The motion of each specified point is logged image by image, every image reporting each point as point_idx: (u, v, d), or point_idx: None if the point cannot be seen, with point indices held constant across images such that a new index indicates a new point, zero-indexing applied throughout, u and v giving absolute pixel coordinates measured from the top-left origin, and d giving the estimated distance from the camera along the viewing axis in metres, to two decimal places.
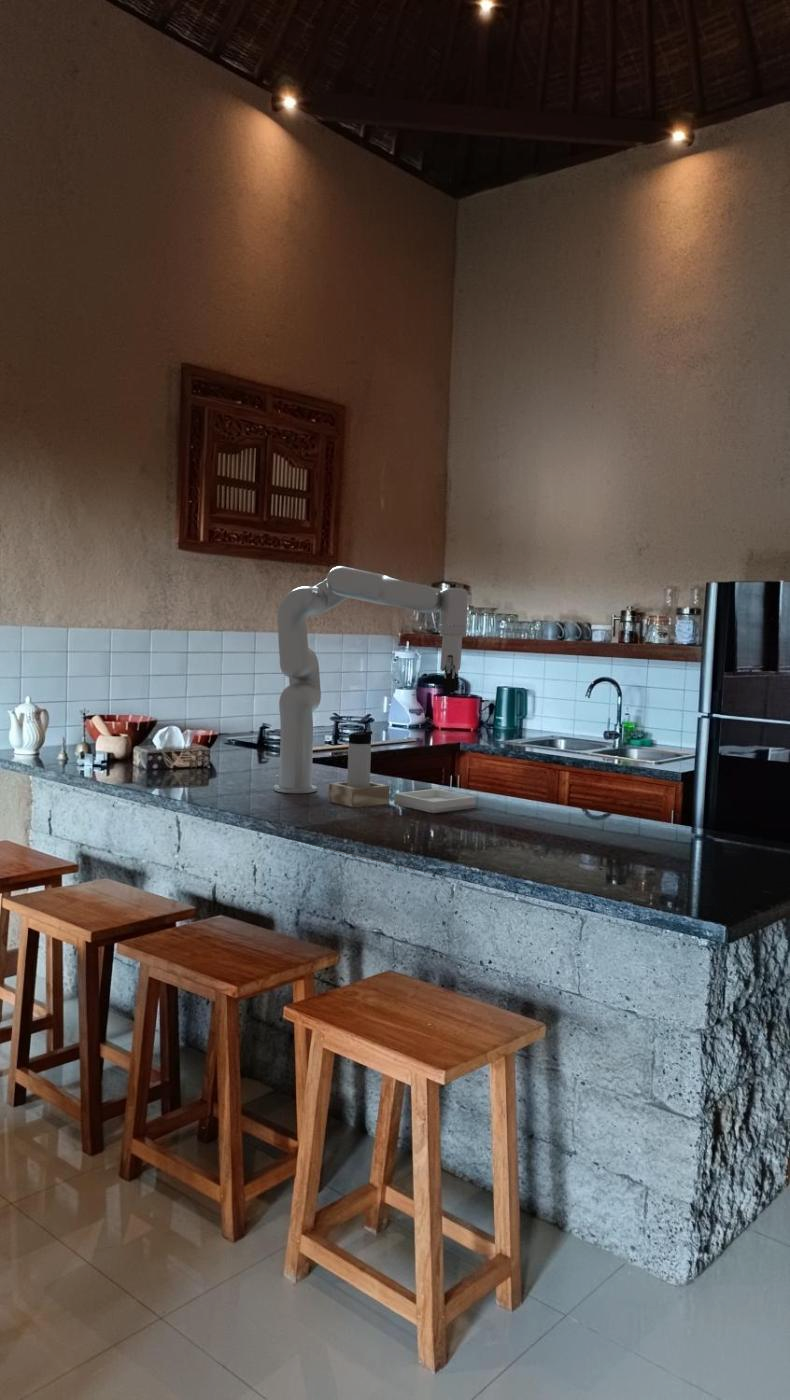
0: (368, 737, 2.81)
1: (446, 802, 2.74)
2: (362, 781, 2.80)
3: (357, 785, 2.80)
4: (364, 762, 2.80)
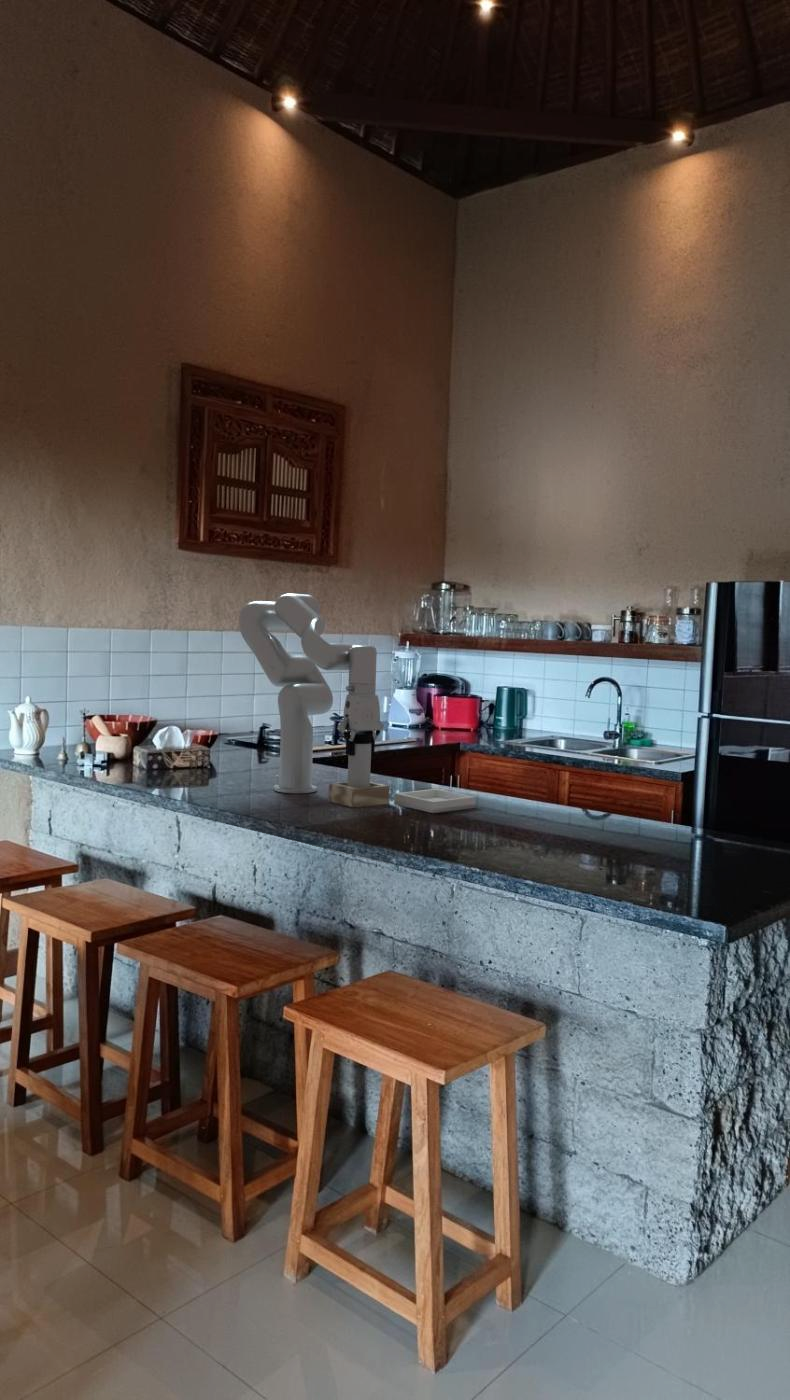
0: (368, 737, 2.81)
1: (446, 802, 2.74)
2: (362, 781, 2.80)
3: (357, 785, 2.80)
4: (364, 762, 2.80)
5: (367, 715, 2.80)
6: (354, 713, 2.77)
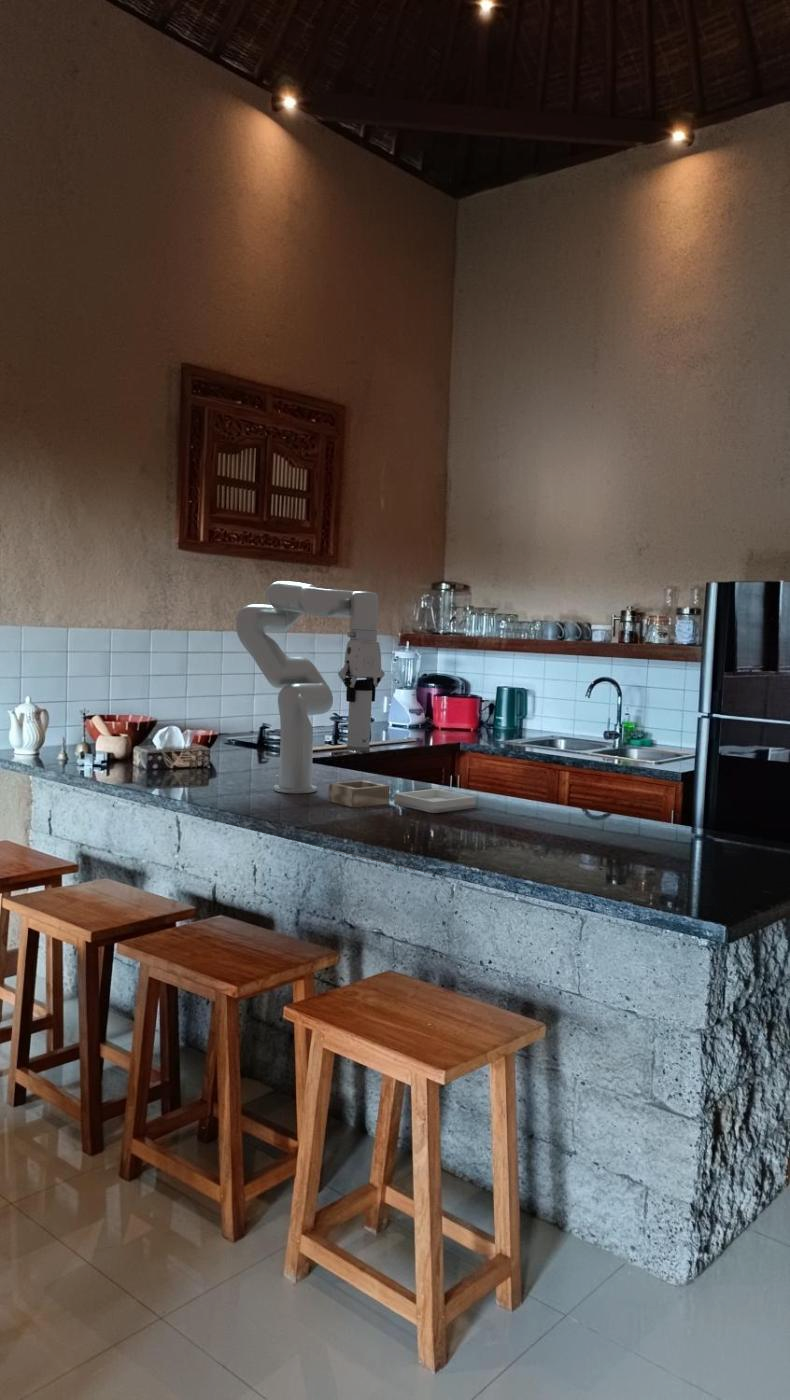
0: (369, 684, 2.80)
1: (446, 802, 2.74)
2: (362, 728, 2.80)
3: (357, 731, 2.80)
4: (365, 709, 2.80)
5: (368, 662, 2.79)
6: (355, 659, 2.76)
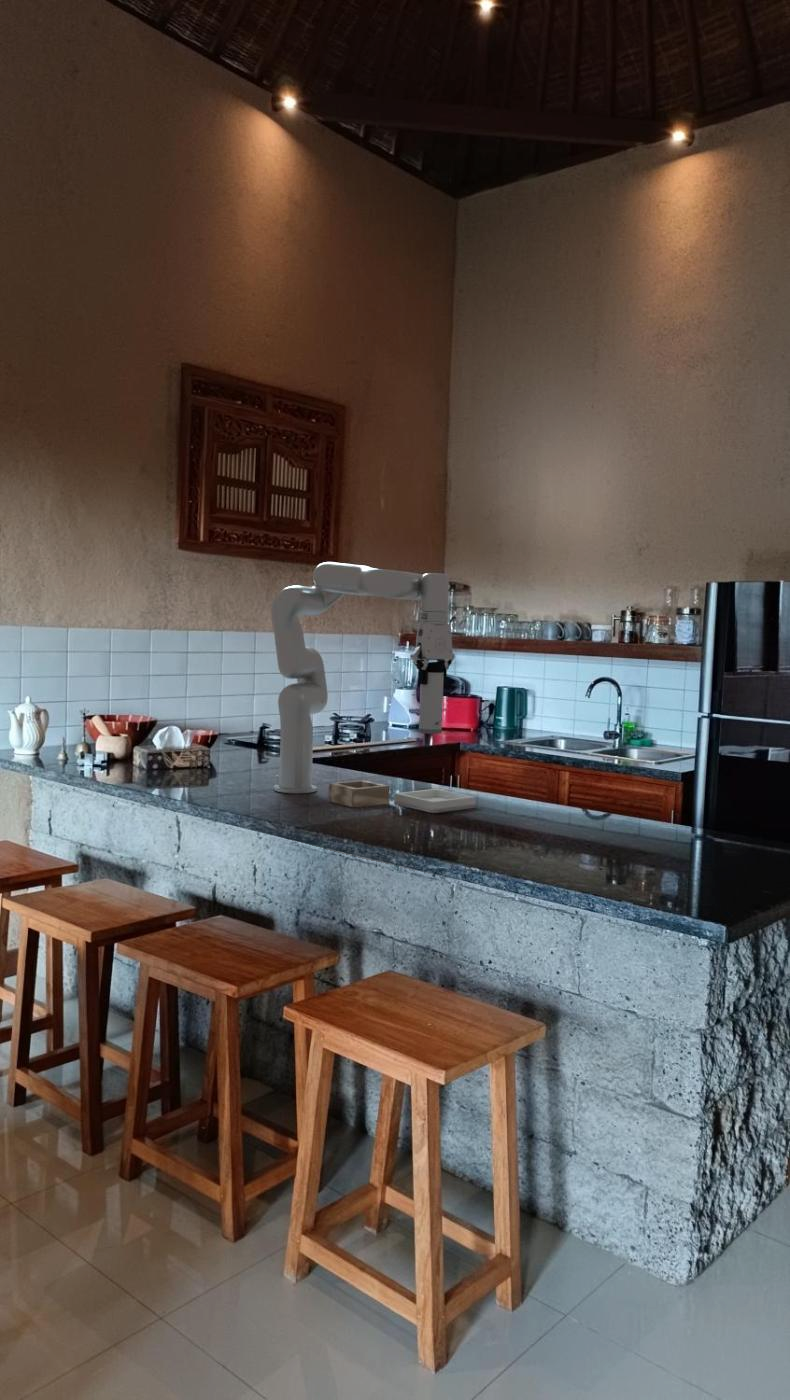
0: (441, 666, 2.78)
1: (446, 802, 2.74)
2: (435, 711, 2.77)
3: (430, 714, 2.77)
4: (437, 691, 2.77)
5: (439, 644, 2.77)
6: (427, 641, 2.74)
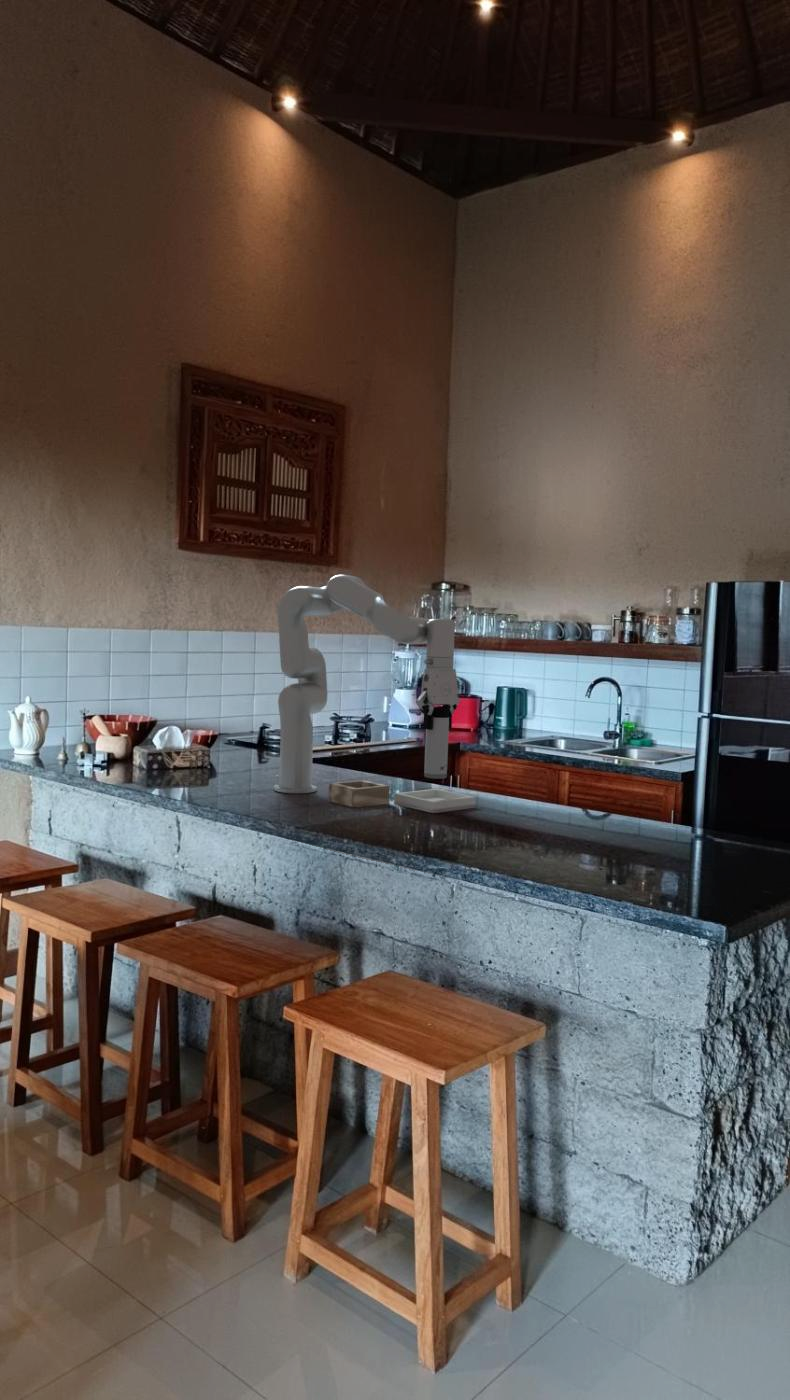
0: (447, 711, 2.78)
1: (446, 802, 2.74)
2: (440, 755, 2.78)
3: (436, 759, 2.78)
4: (443, 736, 2.78)
5: (445, 689, 2.78)
6: (433, 686, 2.75)
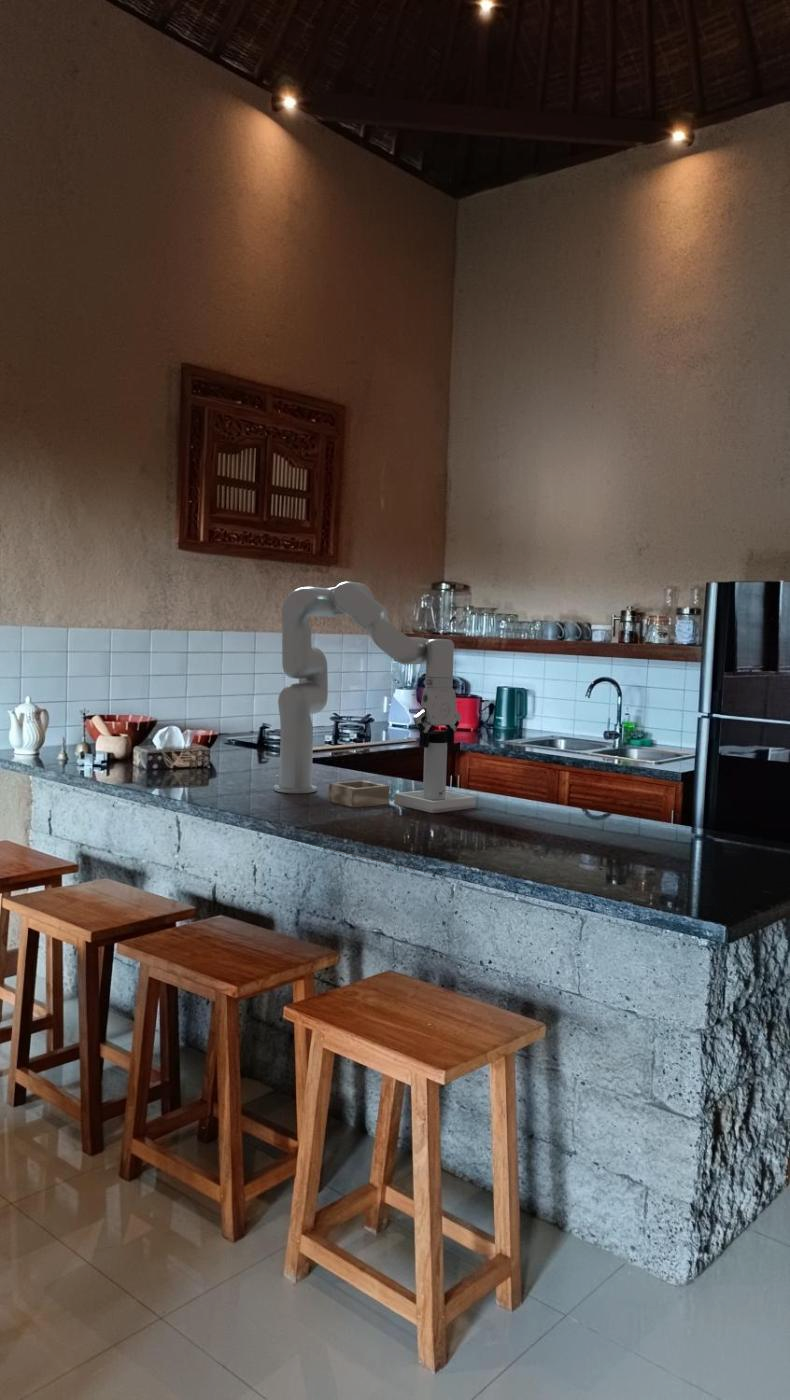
0: (445, 736, 2.79)
1: (446, 802, 2.74)
2: (438, 781, 2.79)
3: (434, 784, 2.79)
4: (441, 761, 2.79)
5: (444, 709, 2.78)
6: (432, 707, 2.75)
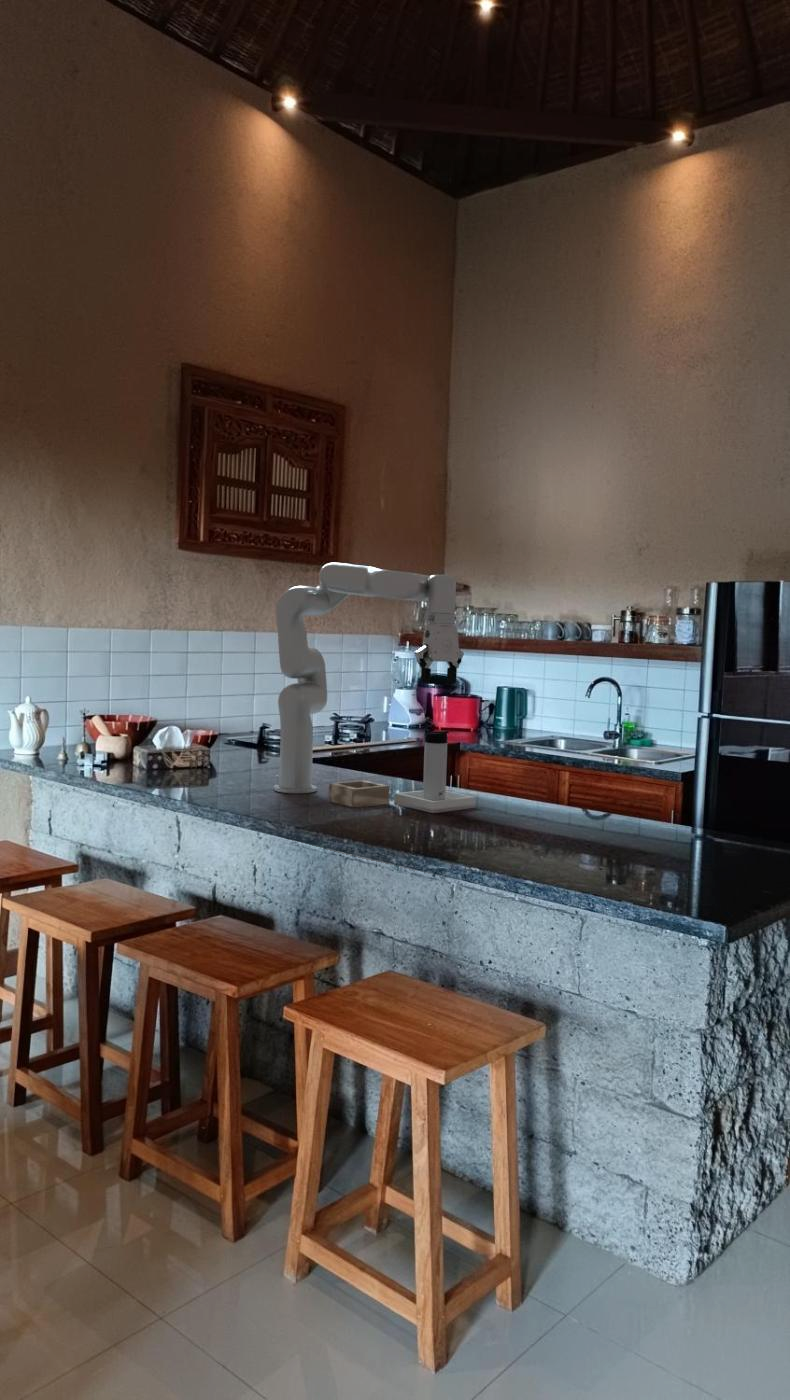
0: (445, 736, 2.79)
1: (446, 802, 2.74)
2: (438, 781, 2.79)
3: (434, 784, 2.79)
4: (441, 762, 2.79)
5: (446, 645, 2.77)
6: (434, 642, 2.74)
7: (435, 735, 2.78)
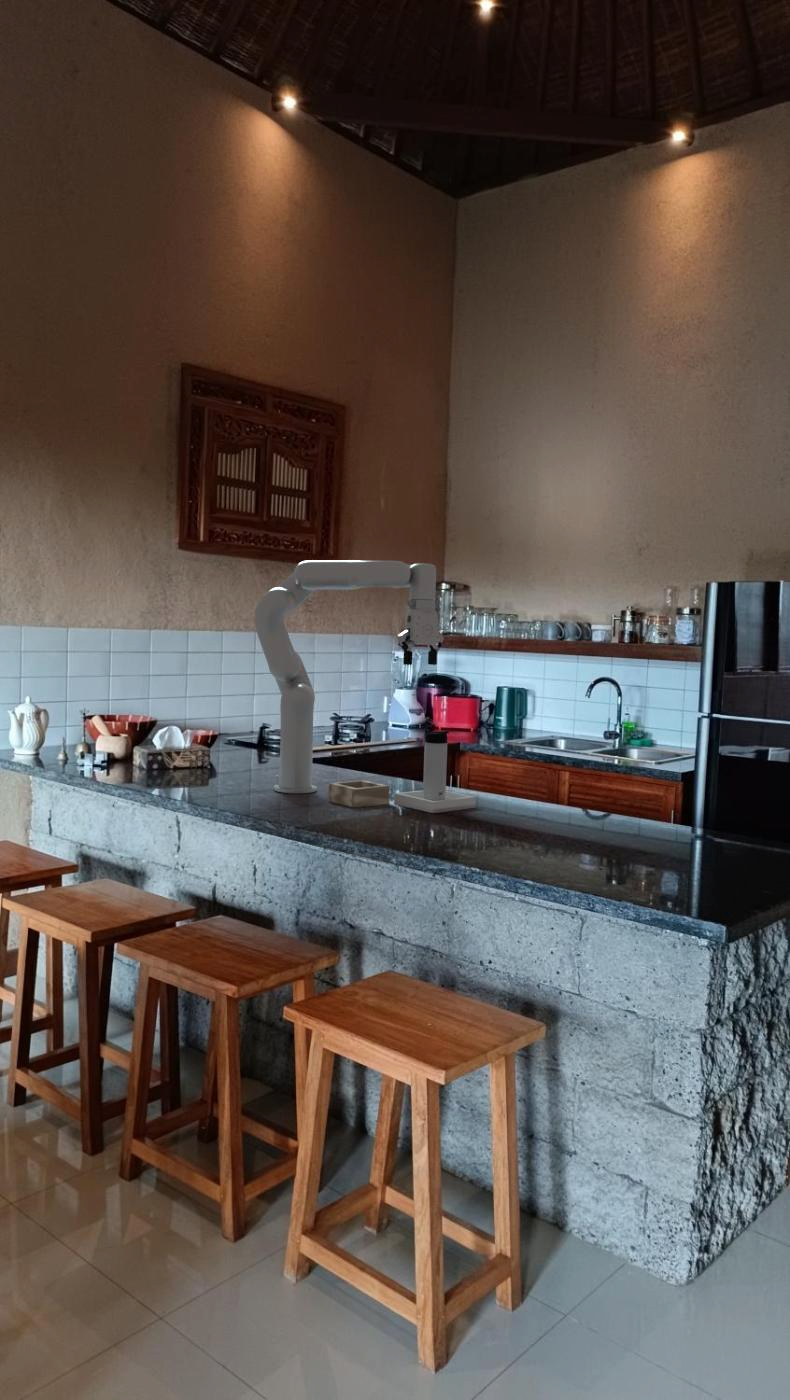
0: (445, 736, 2.79)
1: (446, 802, 2.74)
2: (438, 781, 2.79)
3: (434, 784, 2.79)
4: (441, 762, 2.79)
5: (427, 630, 2.96)
6: (415, 627, 2.93)
7: (435, 735, 2.78)
